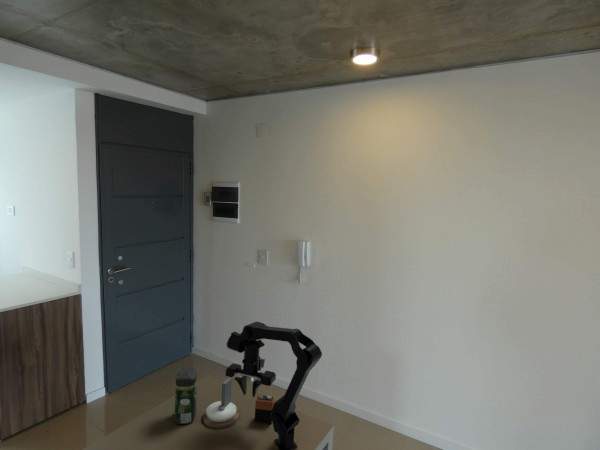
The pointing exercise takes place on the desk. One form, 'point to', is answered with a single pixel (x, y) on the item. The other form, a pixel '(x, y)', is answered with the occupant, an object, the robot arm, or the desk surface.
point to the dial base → (220, 424)
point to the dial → (222, 405)
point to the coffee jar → (185, 396)
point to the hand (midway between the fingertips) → (249, 395)
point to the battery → (264, 409)
